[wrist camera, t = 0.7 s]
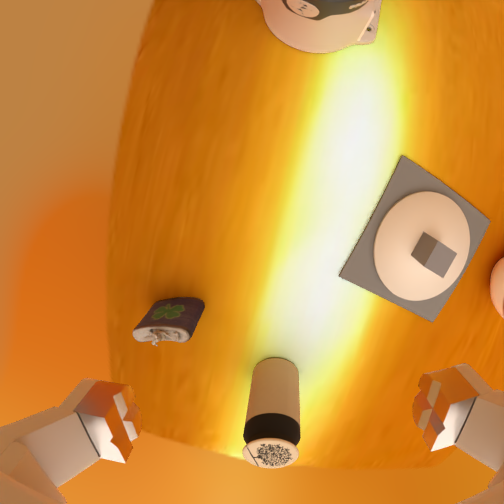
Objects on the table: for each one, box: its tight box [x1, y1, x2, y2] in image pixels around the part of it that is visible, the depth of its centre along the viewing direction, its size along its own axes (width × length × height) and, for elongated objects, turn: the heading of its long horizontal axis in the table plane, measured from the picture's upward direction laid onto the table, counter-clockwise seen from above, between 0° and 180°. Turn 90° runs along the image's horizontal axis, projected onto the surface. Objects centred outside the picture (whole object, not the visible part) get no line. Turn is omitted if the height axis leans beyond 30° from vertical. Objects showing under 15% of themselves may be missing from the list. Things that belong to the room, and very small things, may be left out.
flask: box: [133, 297, 205, 346], centre depth 43 cm, size 9×3×11 cm, turn 98°
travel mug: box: [243, 358, 300, 468], centre depth 42 cm, size 8×8×18 cm
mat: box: [339, 155, 490, 322], centre depth 41 cm, size 20×20×1 cm
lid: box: [373, 191, 470, 301], centre depth 38 cm, size 17×17×6 cm
